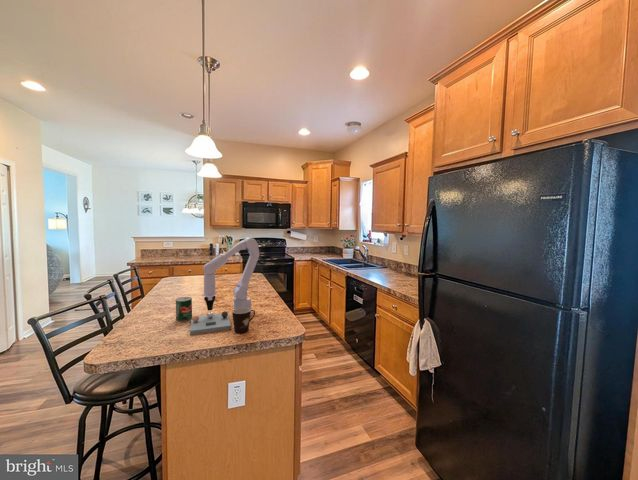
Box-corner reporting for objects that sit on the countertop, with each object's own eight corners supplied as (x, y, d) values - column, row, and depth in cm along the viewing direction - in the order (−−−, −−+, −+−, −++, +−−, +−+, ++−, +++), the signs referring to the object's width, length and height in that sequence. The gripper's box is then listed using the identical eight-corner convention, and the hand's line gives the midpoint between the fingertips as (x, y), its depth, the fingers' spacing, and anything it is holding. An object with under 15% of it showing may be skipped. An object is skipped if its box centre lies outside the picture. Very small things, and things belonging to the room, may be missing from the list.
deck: (227, 316, 149) (227, 312, 149) (231, 329, 131) (231, 325, 131) (192, 320, 142) (191, 317, 142) (190, 335, 124) (190, 331, 124)
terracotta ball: (199, 320, 137) (199, 314, 137) (199, 322, 134) (198, 316, 134) (192, 321, 136) (192, 314, 136) (192, 323, 133) (191, 316, 133)
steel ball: (213, 316, 143) (213, 310, 143) (213, 318, 140) (213, 312, 140) (207, 317, 142) (207, 311, 141) (207, 319, 139) (207, 313, 139)
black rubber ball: (227, 316, 144) (227, 310, 144) (228, 318, 141) (228, 312, 141) (221, 316, 143) (221, 310, 142) (221, 318, 140) (221, 312, 139)
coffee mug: (234, 336, 123) (233, 314, 122) (230, 329, 131) (230, 309, 130) (259, 331, 128) (258, 311, 128) (254, 325, 136) (254, 306, 135)
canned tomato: (185, 322, 140) (185, 301, 140) (172, 320, 142) (172, 300, 141) (195, 317, 148) (195, 297, 147) (182, 315, 150) (182, 296, 149)
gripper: (201, 283, 150) (202, 307, 150) (201, 288, 136) (201, 315, 137) (215, 282, 152) (215, 305, 153) (216, 287, 139) (216, 313, 140)
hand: (210, 310), depth 145 cm, fingers closed
